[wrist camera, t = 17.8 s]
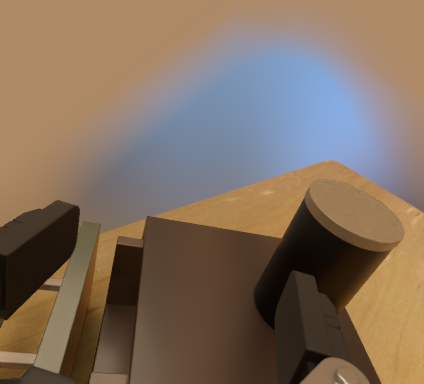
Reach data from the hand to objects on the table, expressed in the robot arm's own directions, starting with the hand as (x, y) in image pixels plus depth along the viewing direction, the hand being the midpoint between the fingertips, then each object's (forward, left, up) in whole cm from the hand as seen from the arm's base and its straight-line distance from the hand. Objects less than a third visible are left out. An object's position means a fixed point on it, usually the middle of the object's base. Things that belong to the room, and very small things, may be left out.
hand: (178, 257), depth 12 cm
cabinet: (+4, +6, -16) cm, 18 cm away
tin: (+7, +7, -7) cm, 12 cm away
